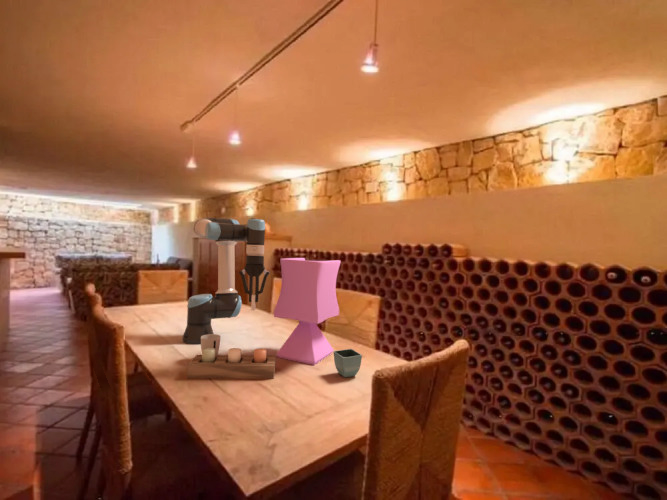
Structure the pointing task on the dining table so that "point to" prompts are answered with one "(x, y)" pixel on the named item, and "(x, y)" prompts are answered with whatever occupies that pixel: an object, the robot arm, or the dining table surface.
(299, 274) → the pink table lamp
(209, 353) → the button sage
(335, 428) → the dining table surface
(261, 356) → the button terracotta
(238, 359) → the peach rounded knob
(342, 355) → the flower pot
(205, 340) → the cup
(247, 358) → the brown wooden long block
